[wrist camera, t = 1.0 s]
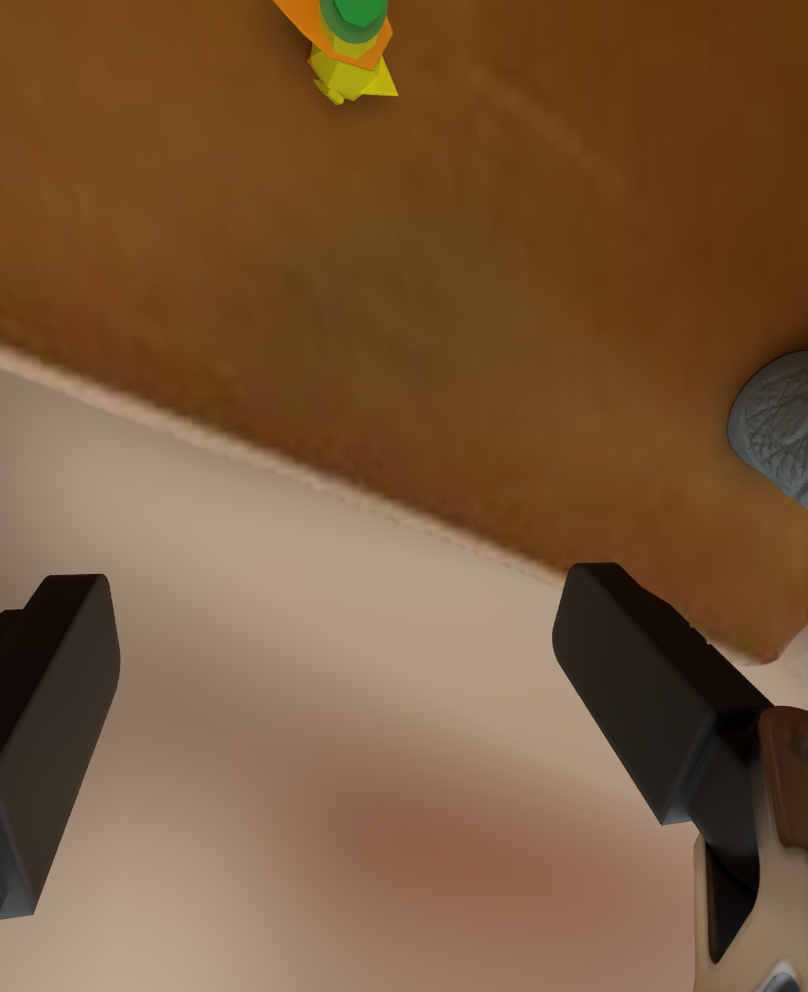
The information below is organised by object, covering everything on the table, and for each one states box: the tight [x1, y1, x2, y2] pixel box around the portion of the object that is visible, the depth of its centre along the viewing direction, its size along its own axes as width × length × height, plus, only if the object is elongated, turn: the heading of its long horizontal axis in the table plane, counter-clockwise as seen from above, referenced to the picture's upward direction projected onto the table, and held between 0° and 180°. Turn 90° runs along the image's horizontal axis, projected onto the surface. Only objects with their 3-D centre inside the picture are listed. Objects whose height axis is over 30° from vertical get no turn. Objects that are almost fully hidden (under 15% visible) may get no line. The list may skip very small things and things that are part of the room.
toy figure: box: [273, 0, 398, 105], centre depth 20 cm, size 7×4×12 cm, turn 55°
